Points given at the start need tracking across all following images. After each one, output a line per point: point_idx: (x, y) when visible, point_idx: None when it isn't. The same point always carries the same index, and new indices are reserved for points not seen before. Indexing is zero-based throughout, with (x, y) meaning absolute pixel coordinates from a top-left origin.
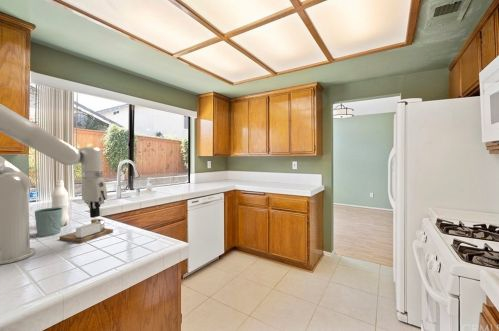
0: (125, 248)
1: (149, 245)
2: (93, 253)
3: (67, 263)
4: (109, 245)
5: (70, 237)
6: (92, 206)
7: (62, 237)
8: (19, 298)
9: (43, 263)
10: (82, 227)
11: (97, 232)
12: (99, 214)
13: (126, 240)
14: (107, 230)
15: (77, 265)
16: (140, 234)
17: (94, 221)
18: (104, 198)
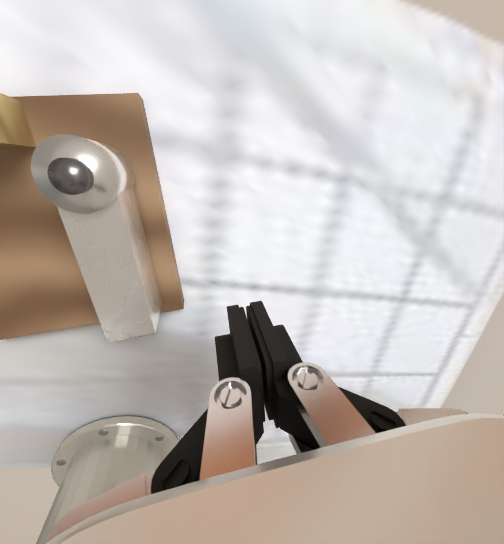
0: (407, 245)
1: (479, 181)
2: (334, 321)
3: None
4: (325, 255)
5: (82, 318)
6: (259, 435)
7: (27, 333)
8: None
9: None
10: (133, 317)
11: None
12: (264, 309)
13: (349, 179)
14: (132, 135)
15: (362, 374)
16: (355, 61)
17: None
18: (482, 449)
